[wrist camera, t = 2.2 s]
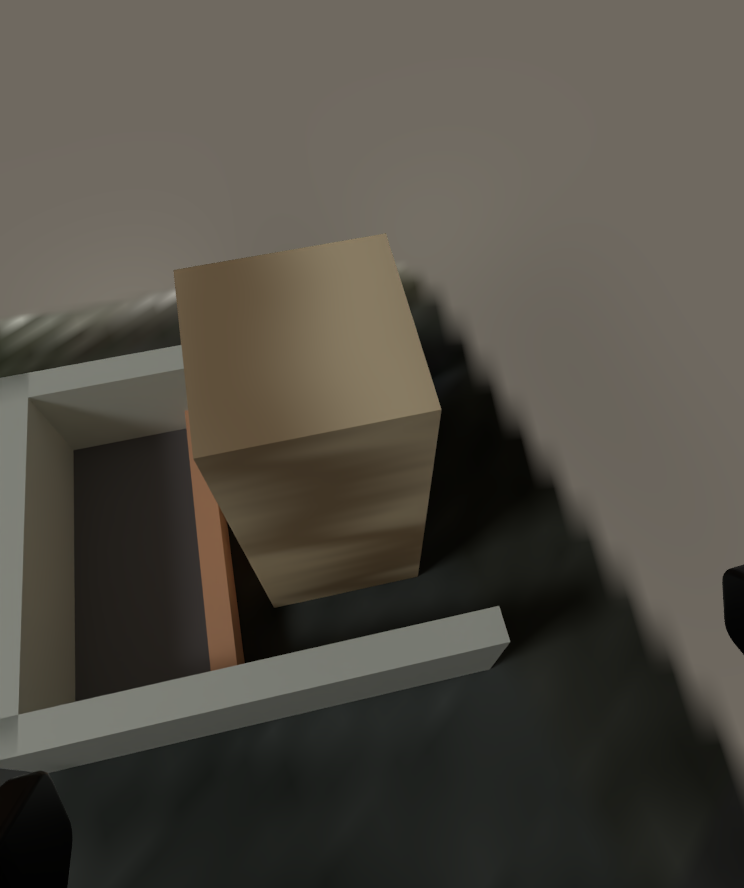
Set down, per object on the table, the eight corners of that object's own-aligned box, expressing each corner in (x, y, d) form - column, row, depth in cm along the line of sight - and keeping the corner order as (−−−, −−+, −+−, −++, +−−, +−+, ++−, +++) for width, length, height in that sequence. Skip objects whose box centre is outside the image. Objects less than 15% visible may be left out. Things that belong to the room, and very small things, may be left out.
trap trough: (402, 369, 27) (404, 304, 24) (489, 669, 22) (510, 641, 18) (50, 436, 26) (-2, 378, 23) (46, 773, 20) (-24, 765, 17)
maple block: (385, 451, 26) (385, 233, 16) (417, 576, 23) (441, 409, 14) (254, 478, 25) (173, 270, 15) (274, 608, 23) (193, 458, 13)
